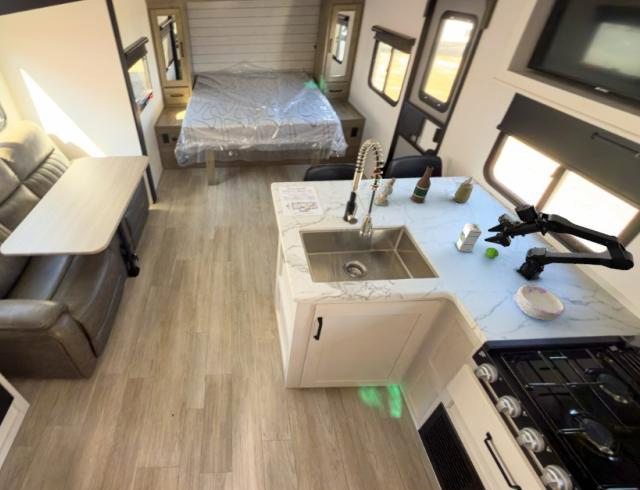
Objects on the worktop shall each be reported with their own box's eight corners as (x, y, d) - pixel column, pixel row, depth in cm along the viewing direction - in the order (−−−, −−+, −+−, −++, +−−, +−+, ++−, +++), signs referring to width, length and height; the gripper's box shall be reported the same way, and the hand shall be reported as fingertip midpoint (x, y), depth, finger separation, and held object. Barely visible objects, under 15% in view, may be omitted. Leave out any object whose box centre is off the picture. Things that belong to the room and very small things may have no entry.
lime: (498, 259, 161) (503, 251, 158) (489, 260, 161) (494, 253, 157) (489, 252, 165) (494, 244, 162) (481, 253, 165) (485, 246, 162)
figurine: (387, 208, 197) (396, 180, 185) (373, 204, 200) (381, 177, 188) (389, 200, 203) (398, 173, 191) (376, 197, 206) (384, 170, 195)
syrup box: (470, 252, 165) (483, 231, 157) (458, 250, 166) (470, 230, 158) (466, 244, 170) (478, 224, 161) (454, 243, 171) (466, 222, 162)
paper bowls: (535, 294, 143) (545, 283, 139) (563, 324, 131) (575, 313, 127) (502, 295, 143) (511, 284, 138) (528, 325, 131) (538, 314, 126)
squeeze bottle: (449, 198, 204) (460, 174, 193) (458, 195, 207) (469, 172, 196) (461, 205, 198) (473, 181, 188) (469, 202, 201) (482, 178, 190)
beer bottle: (411, 202, 201) (424, 169, 187) (410, 195, 207) (422, 163, 193) (424, 204, 200) (438, 171, 185) (422, 197, 206) (436, 165, 191)
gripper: (519, 204, 150) (481, 213, 163) (513, 223, 139) (474, 231, 152) (530, 223, 151) (492, 231, 163) (526, 244, 140) (485, 250, 152)
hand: (486, 235), depth 157 cm, fingers open, 9 cm apart
